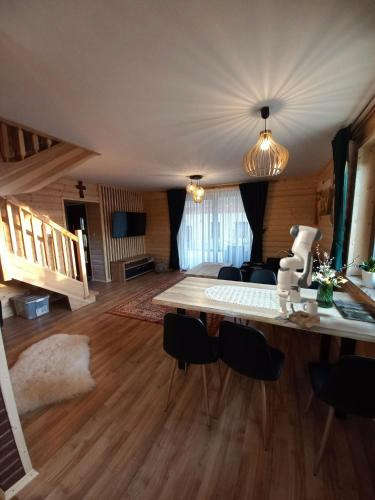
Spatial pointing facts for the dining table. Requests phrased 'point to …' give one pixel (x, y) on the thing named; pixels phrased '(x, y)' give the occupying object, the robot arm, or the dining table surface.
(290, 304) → the clip
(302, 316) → the socket block
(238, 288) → the dining table surface
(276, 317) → the mat
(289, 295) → the robot arm
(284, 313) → the plug
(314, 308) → the cup
